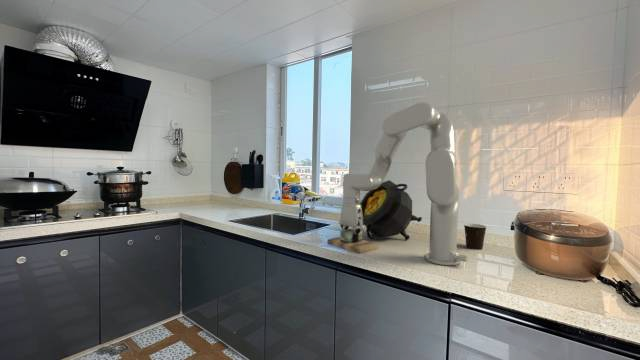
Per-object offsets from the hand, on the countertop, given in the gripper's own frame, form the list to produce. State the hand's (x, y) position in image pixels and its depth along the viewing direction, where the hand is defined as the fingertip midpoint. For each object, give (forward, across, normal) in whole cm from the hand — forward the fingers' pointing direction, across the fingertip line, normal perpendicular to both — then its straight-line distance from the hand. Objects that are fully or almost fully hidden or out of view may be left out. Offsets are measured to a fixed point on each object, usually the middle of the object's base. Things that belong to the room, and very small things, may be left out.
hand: (350, 240), depth 128 cm
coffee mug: (+2, -37, -39) cm, 54 cm away
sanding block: (0, 0, 0) cm, 0 cm away
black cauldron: (+2, -1, -25) cm, 25 cm away
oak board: (+2, -1, 0) cm, 2 cm away
